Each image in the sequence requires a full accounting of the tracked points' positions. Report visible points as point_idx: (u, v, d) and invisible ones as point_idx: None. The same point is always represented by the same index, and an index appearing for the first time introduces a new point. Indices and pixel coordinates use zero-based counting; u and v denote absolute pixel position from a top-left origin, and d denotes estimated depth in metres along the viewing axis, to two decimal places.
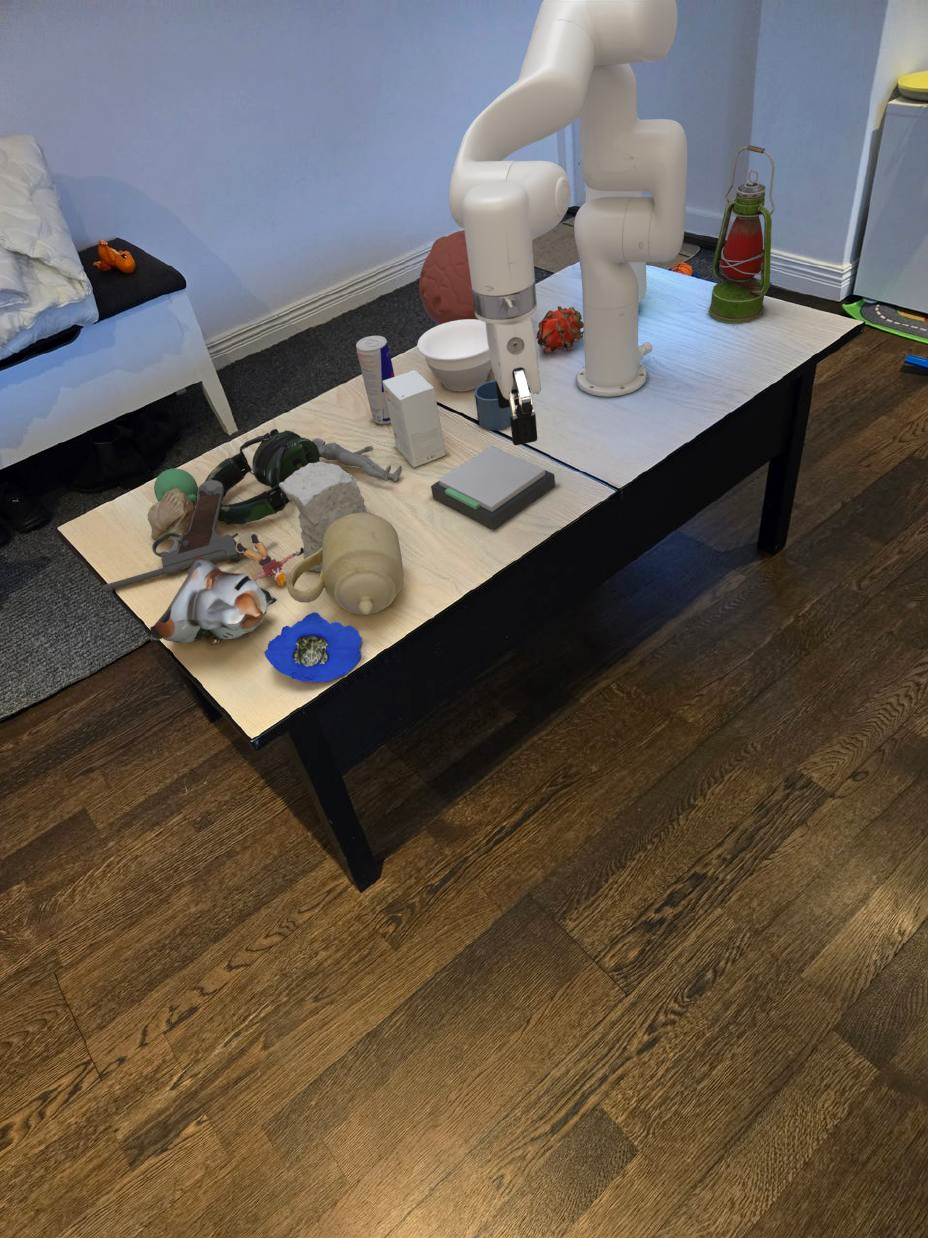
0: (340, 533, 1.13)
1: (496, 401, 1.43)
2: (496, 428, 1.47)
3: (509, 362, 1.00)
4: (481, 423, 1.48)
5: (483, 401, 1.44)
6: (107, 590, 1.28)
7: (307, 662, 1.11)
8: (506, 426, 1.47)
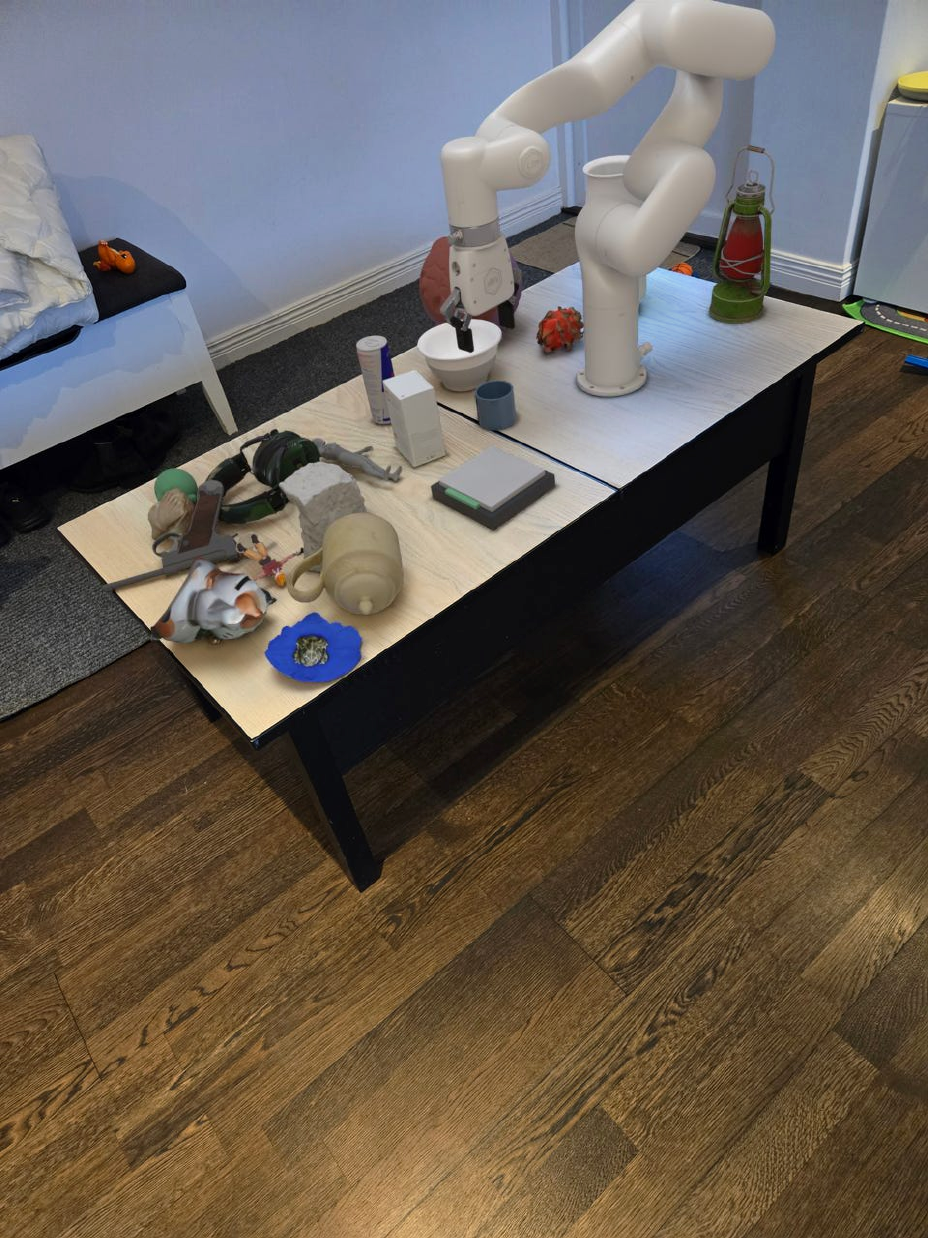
0: (340, 533, 1.13)
1: (496, 401, 1.43)
2: (496, 428, 1.47)
3: (452, 279, 1.28)
4: (481, 423, 1.48)
5: (483, 401, 1.44)
6: (107, 590, 1.28)
7: (307, 662, 1.11)
8: (506, 426, 1.47)
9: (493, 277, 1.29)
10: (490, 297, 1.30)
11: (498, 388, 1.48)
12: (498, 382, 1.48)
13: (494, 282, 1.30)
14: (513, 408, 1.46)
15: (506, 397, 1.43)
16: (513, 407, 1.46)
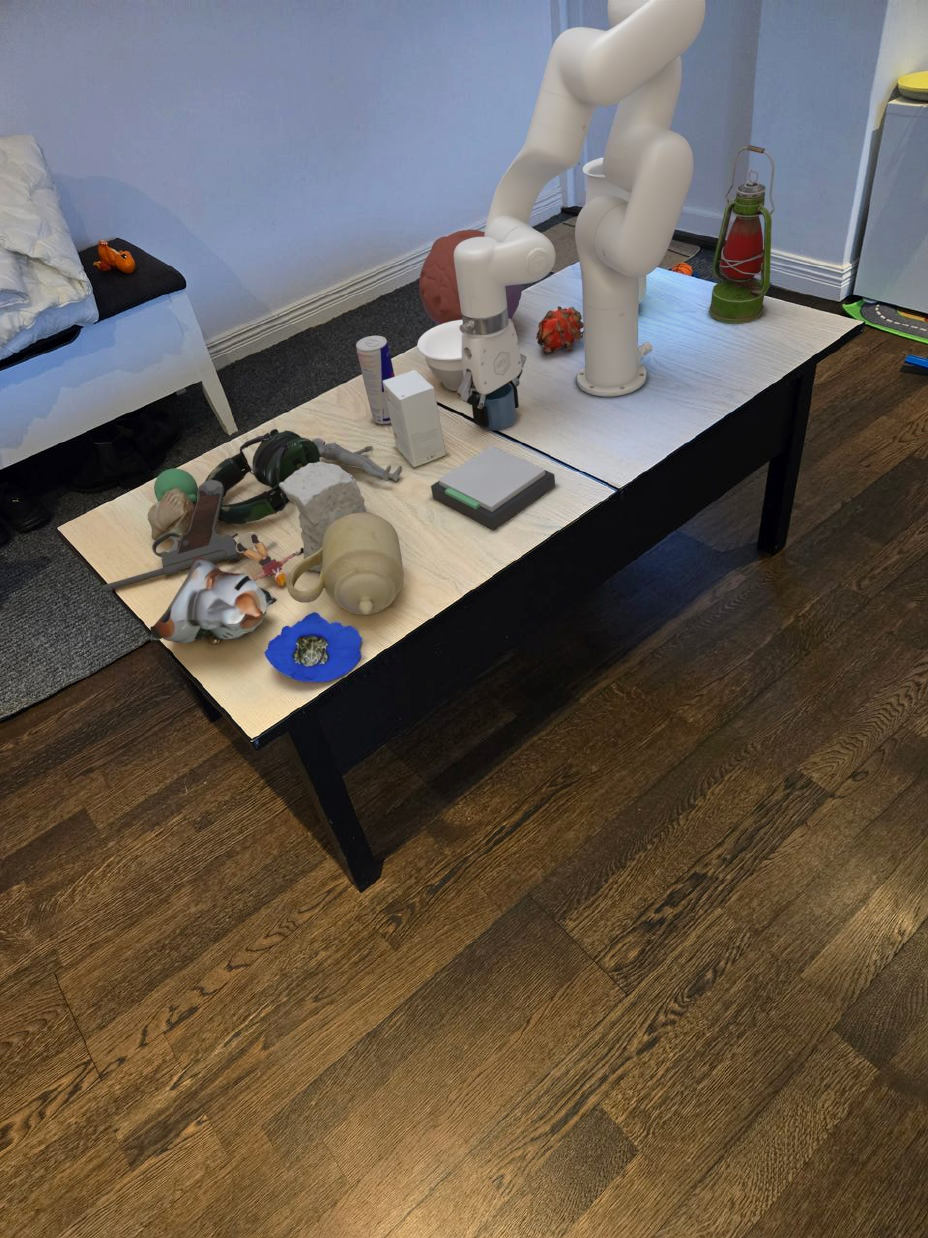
0: (340, 533, 1.13)
1: (496, 401, 1.43)
2: (496, 428, 1.47)
3: (464, 362, 1.39)
4: None
5: None
6: (107, 590, 1.28)
7: (307, 662, 1.11)
8: (506, 426, 1.47)
9: (502, 360, 1.40)
10: (499, 377, 1.41)
11: (498, 388, 1.48)
12: None
13: (503, 364, 1.40)
14: (513, 408, 1.46)
15: (506, 397, 1.43)
16: (513, 407, 1.46)
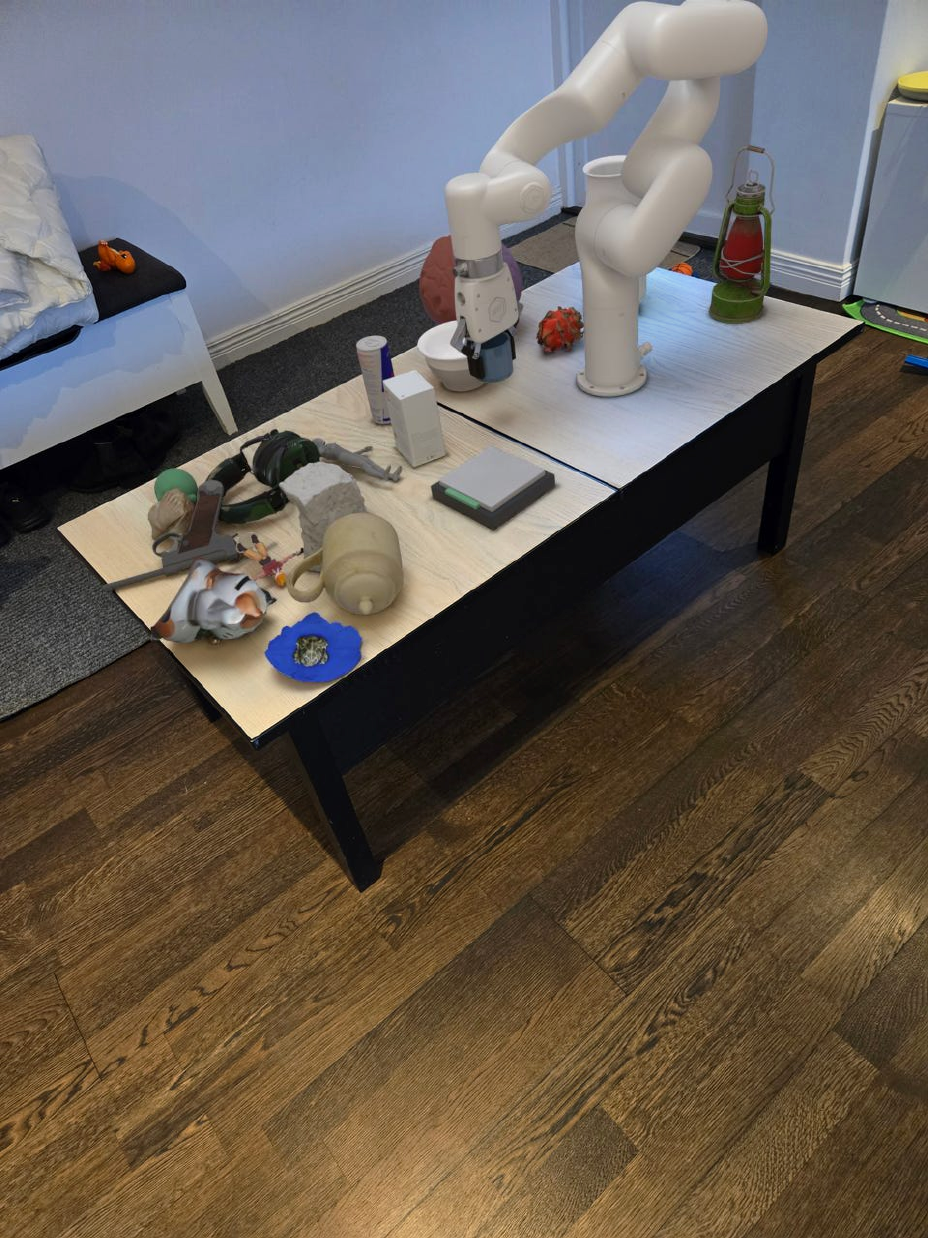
0: (340, 533, 1.13)
1: (492, 351, 1.37)
2: (492, 380, 1.41)
3: (458, 309, 1.33)
4: None
5: None
6: (107, 590, 1.28)
7: (307, 662, 1.11)
8: (503, 378, 1.41)
9: (497, 306, 1.33)
10: (495, 325, 1.35)
11: (494, 339, 1.42)
12: None
13: (498, 310, 1.34)
14: (510, 359, 1.40)
15: (502, 346, 1.37)
16: (510, 358, 1.40)
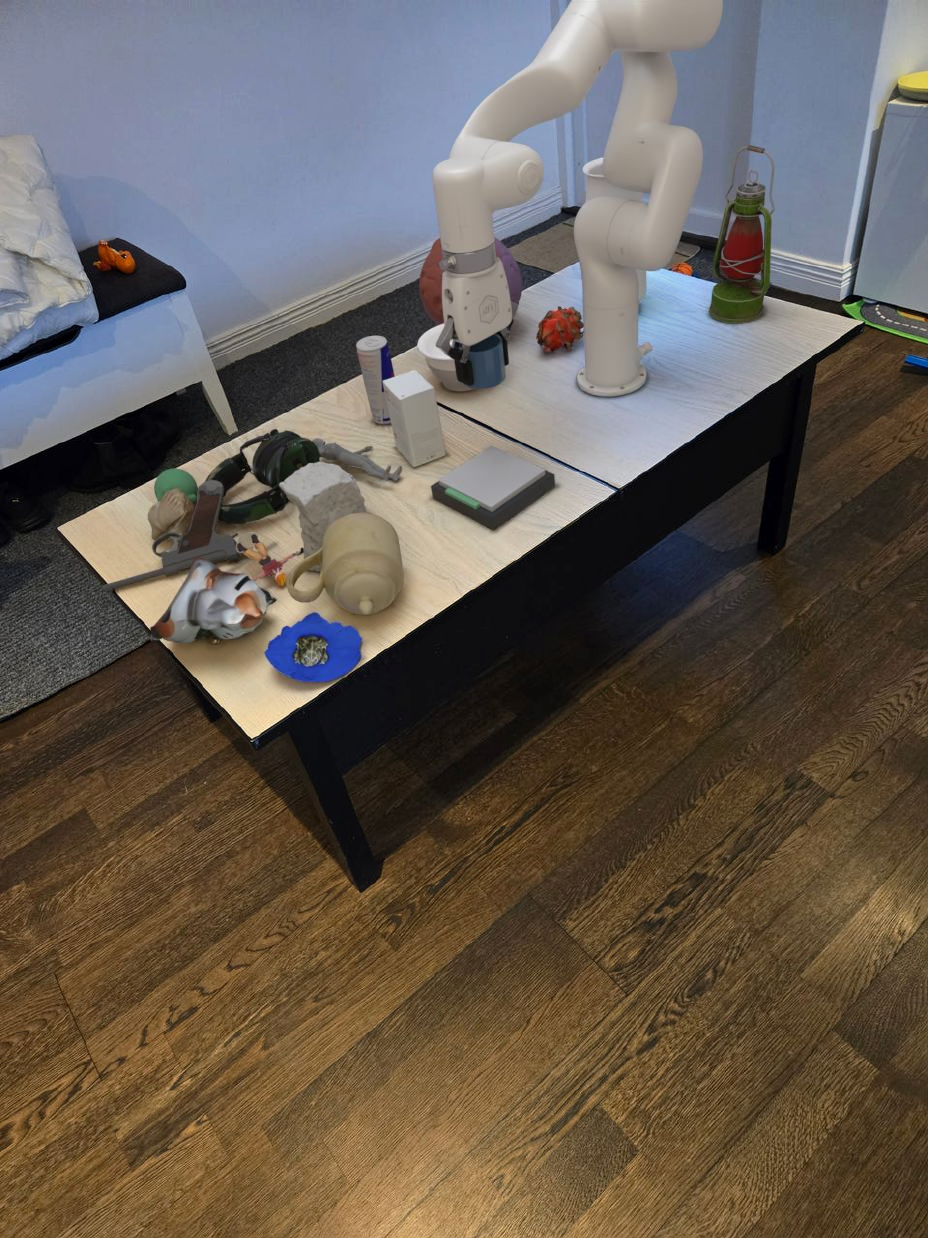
0: (340, 533, 1.13)
1: (482, 354, 1.24)
2: (482, 387, 1.28)
3: (445, 307, 1.20)
4: None
5: None
6: (107, 590, 1.28)
7: (307, 662, 1.11)
8: (493, 385, 1.28)
9: (489, 305, 1.21)
10: (486, 326, 1.22)
11: (485, 341, 1.29)
12: None
13: (490, 310, 1.21)
14: (502, 364, 1.27)
15: (493, 350, 1.24)
16: (502, 363, 1.27)
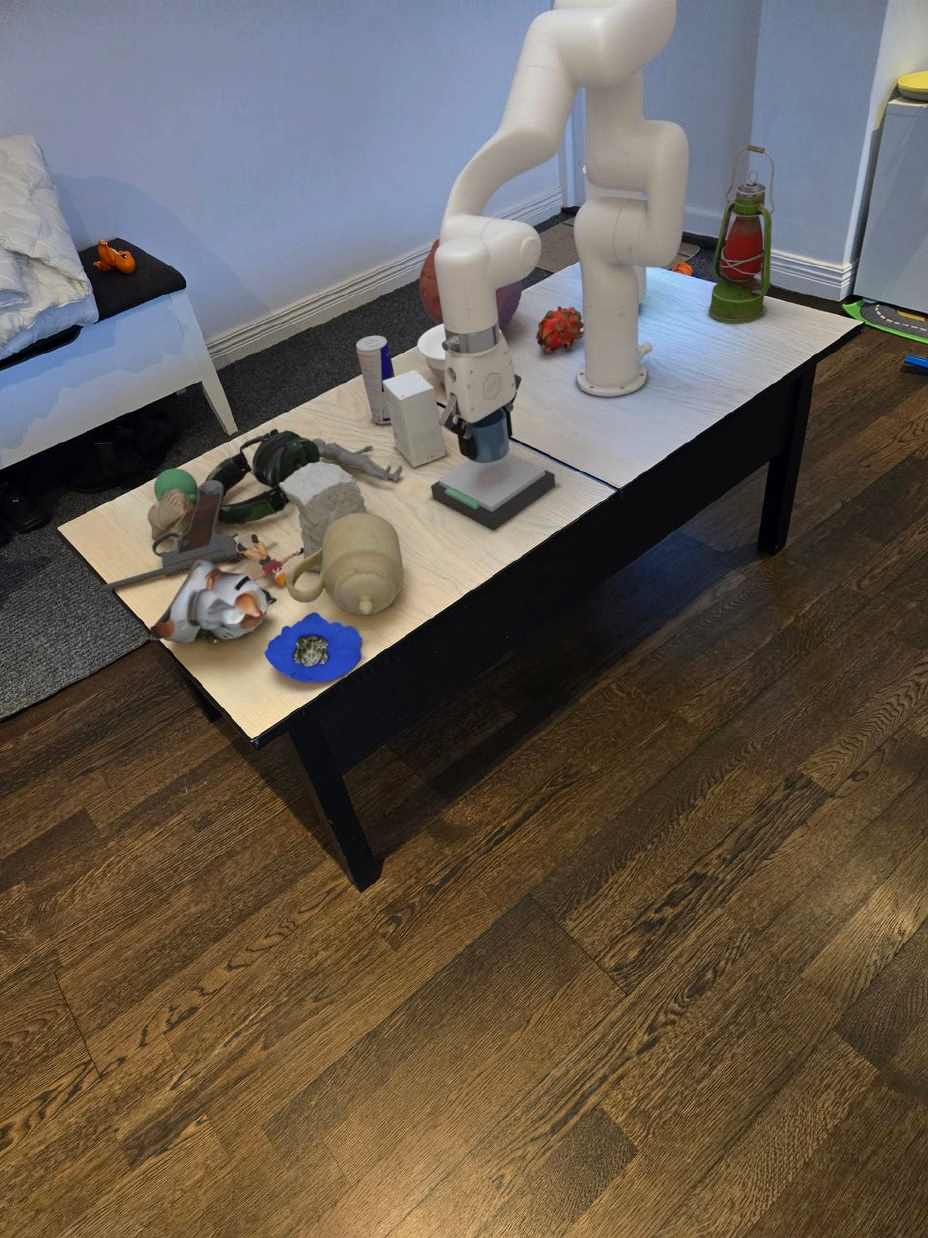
0: (340, 533, 1.13)
1: (485, 430, 1.22)
2: (486, 461, 1.26)
3: (448, 385, 1.18)
4: None
5: None
6: (107, 590, 1.28)
7: (307, 662, 1.11)
8: (497, 458, 1.26)
9: (492, 382, 1.18)
10: (489, 403, 1.20)
11: None
12: None
13: (494, 387, 1.19)
14: (505, 437, 1.25)
15: (497, 425, 1.22)
16: (505, 436, 1.25)
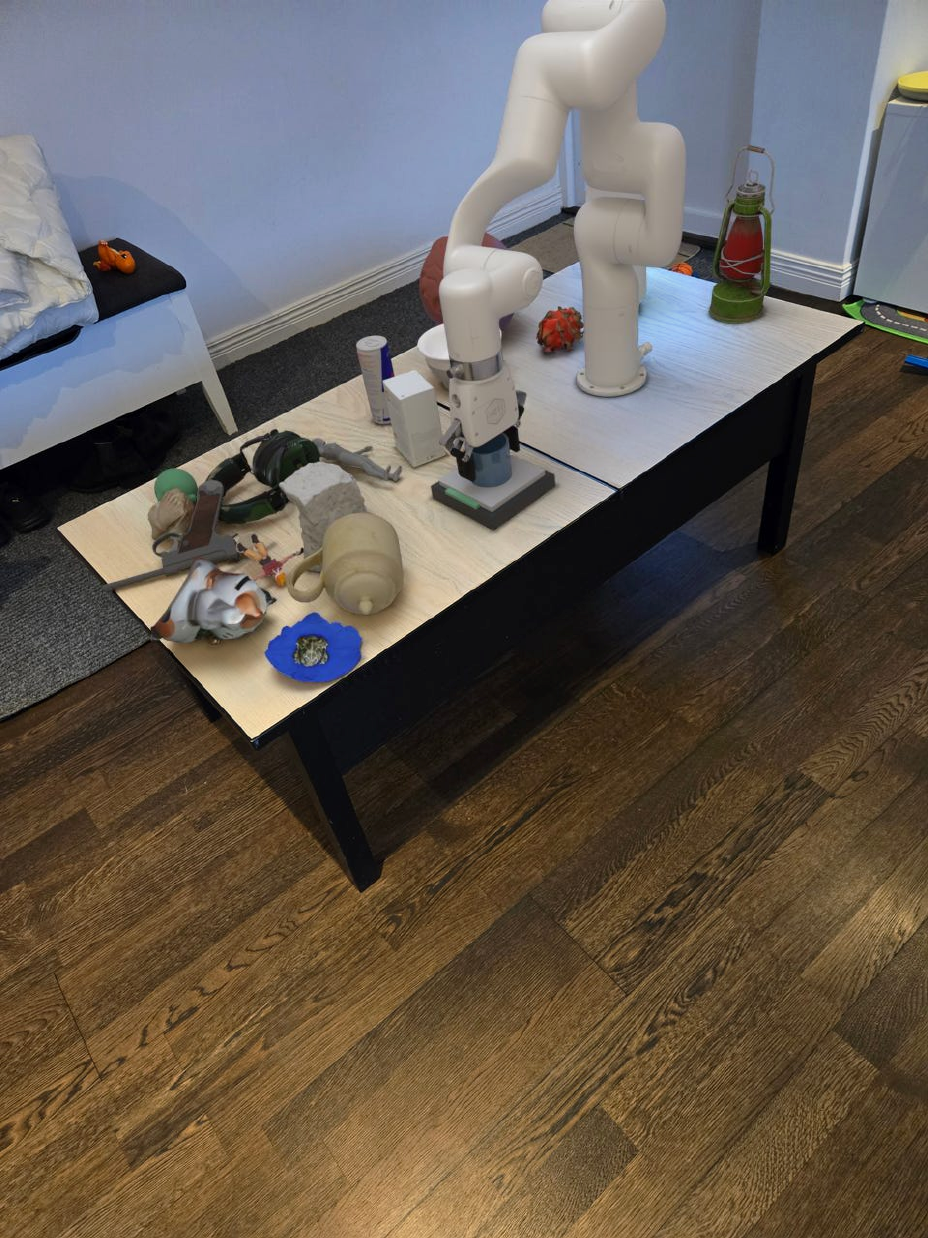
0: (340, 533, 1.13)
1: (489, 456, 1.25)
2: (489, 485, 1.29)
3: (452, 411, 1.21)
4: None
5: (474, 456, 1.26)
6: (107, 590, 1.28)
7: (307, 662, 1.11)
8: (500, 483, 1.29)
9: (496, 407, 1.21)
10: (493, 427, 1.23)
11: (491, 439, 1.30)
12: None
13: (497, 412, 1.22)
14: (508, 463, 1.28)
15: (500, 451, 1.25)
16: (508, 461, 1.28)
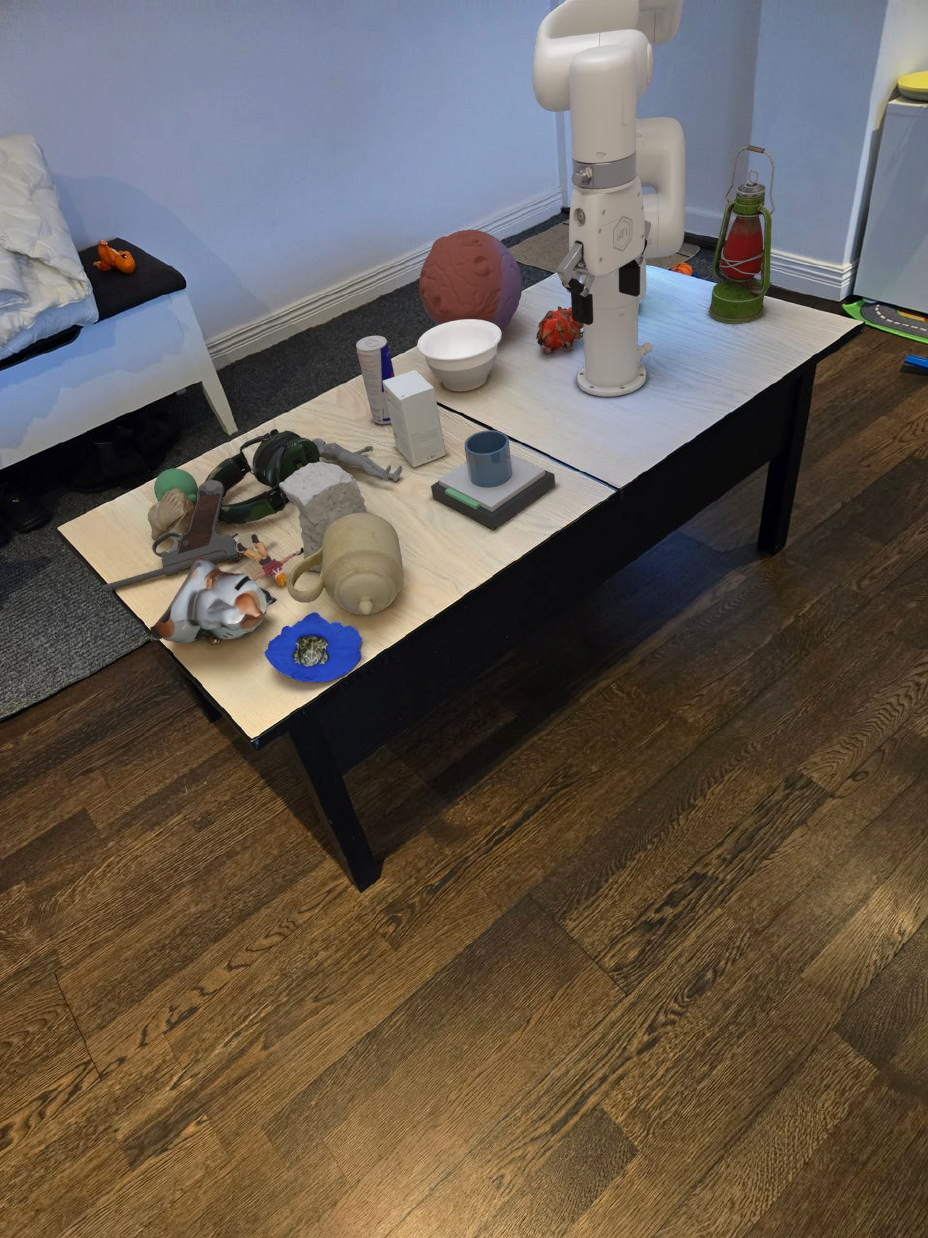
0: (340, 533, 1.13)
1: (489, 456, 1.25)
2: (489, 485, 1.29)
3: (573, 231, 1.03)
4: (472, 479, 1.30)
5: (474, 456, 1.26)
6: (107, 590, 1.28)
7: (307, 662, 1.11)
8: (500, 483, 1.29)
9: (623, 229, 1.04)
10: (618, 254, 1.05)
11: (491, 439, 1.30)
12: (491, 432, 1.29)
13: (624, 235, 1.04)
14: (508, 463, 1.28)
15: (500, 451, 1.25)
16: (508, 461, 1.28)
